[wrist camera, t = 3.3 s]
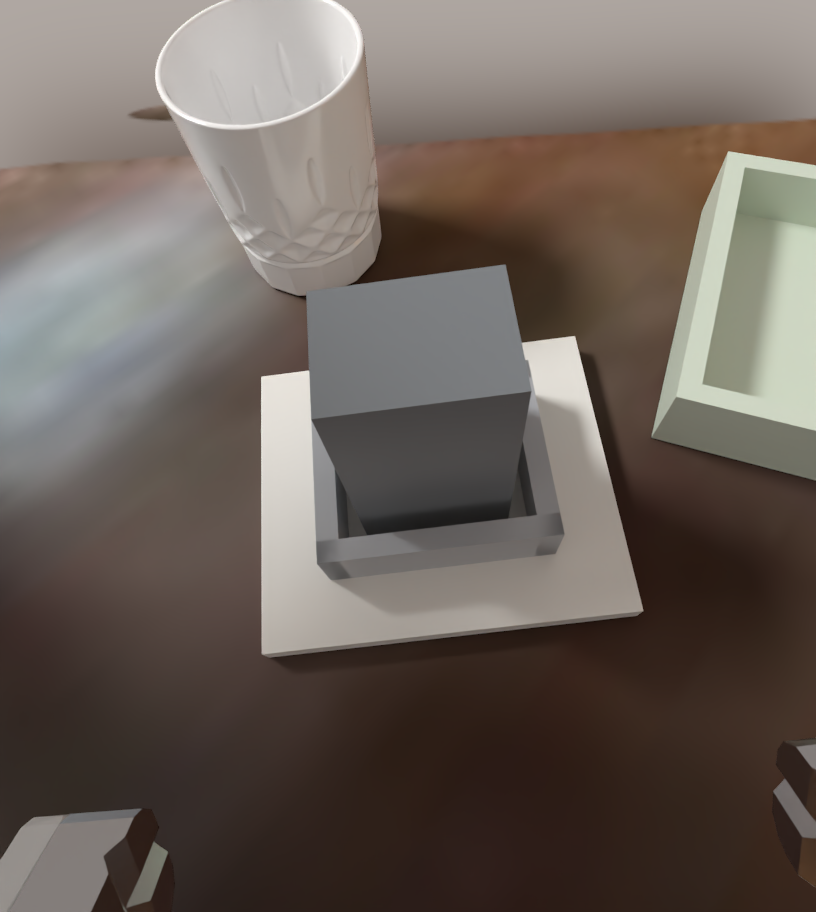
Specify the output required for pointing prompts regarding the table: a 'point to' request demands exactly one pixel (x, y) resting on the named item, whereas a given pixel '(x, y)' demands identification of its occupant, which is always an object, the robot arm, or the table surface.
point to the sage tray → (749, 322)
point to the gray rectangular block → (420, 396)
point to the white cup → (281, 133)
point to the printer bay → (442, 533)
